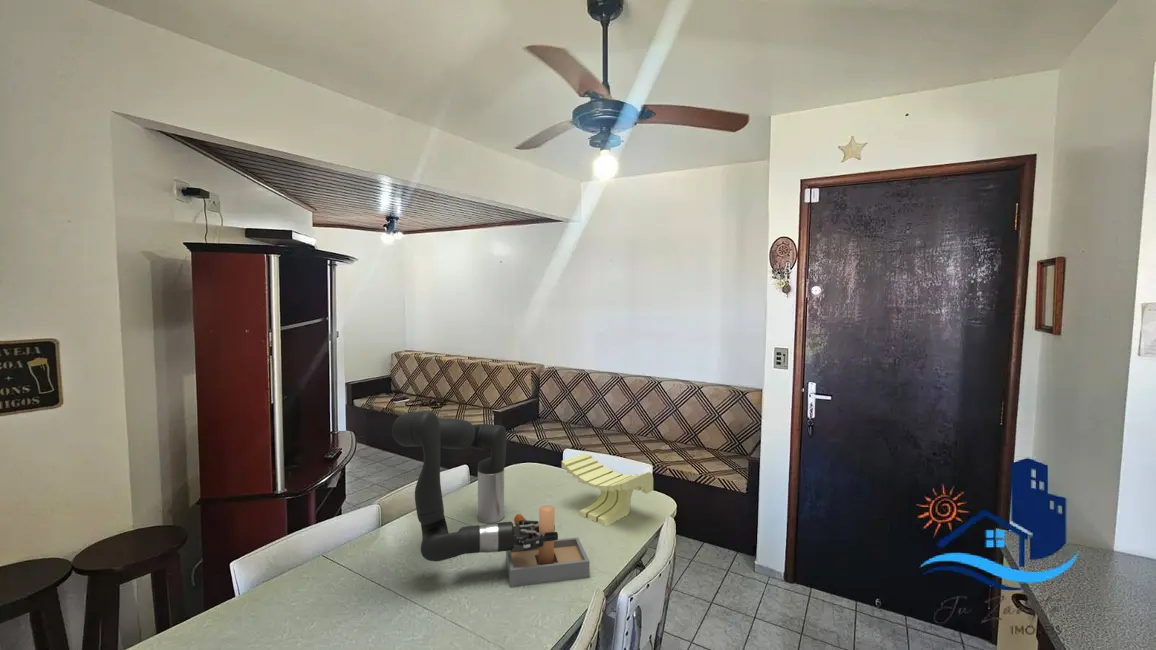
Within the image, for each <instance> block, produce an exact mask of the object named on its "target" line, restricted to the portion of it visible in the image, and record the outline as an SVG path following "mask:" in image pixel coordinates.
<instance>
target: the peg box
mask: <svg viewBox="0 0 1156 650" xmlns="http://www.w3.org/2000/svg"><path fill="white" fill-rule="evenodd" d="M536 544H539V543H536ZM538 559H539V548H535V549H531V550H527V551H524V550H523V546H522V545H514V548H513V550H511V551H505V560H506V561H505V562H506V563H505V564H506V567H507V568H506V569H507V575H508V581H509V587H510V588H513V587H517V586H518V587H519V586H528V585H536V584H543V583H552V582H561V581H569V580H576V579H585V578H590V559H589V557H588V555H587V553H586V551H585V549H584V547H583V545H582V542H581V541H580V538H579V537H569V538H558V540H555V541H554V562H555V563H553V564H545V565H539V564H538Z"/></svg>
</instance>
